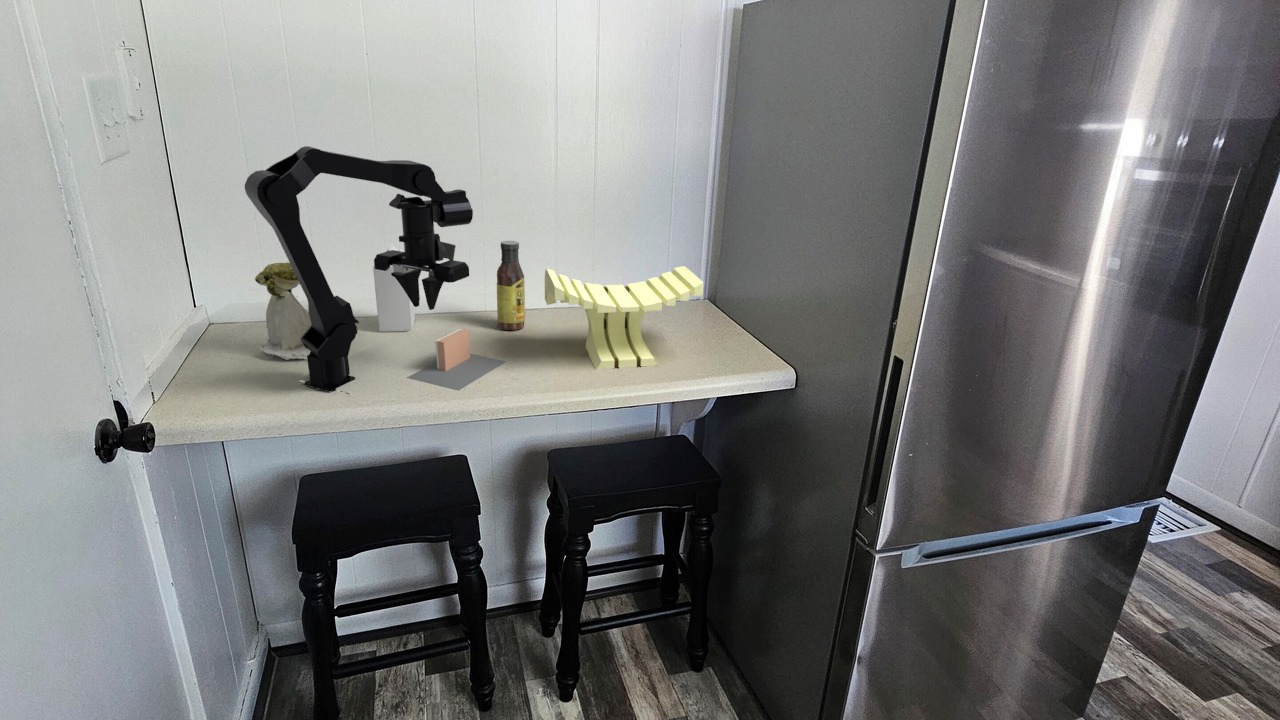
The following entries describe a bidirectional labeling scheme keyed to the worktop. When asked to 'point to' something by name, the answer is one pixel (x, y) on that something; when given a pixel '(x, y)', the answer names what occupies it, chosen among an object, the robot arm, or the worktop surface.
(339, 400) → the worktop surface
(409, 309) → the milk carton
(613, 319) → the yellow slatted pedestal stand
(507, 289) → the sauce bottle
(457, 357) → the tile
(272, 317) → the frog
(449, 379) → the mat
